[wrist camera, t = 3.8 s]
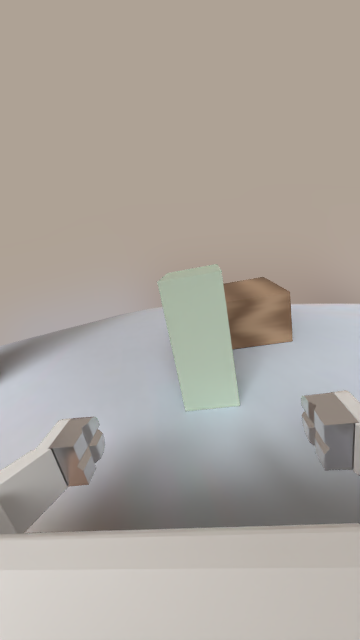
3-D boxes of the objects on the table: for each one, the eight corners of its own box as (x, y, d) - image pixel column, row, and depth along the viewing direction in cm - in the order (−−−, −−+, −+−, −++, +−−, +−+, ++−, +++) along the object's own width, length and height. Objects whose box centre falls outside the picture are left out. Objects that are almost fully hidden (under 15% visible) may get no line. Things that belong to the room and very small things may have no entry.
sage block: (185, 411, 20) (157, 282, 17) (188, 378, 25) (167, 273, 21) (239, 405, 19) (221, 270, 16) (232, 373, 24) (216, 264, 21)
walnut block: (192, 354, 30) (183, 308, 28) (195, 323, 41) (188, 289, 39) (292, 341, 28) (289, 291, 26) (266, 312, 40) (263, 276, 38)
